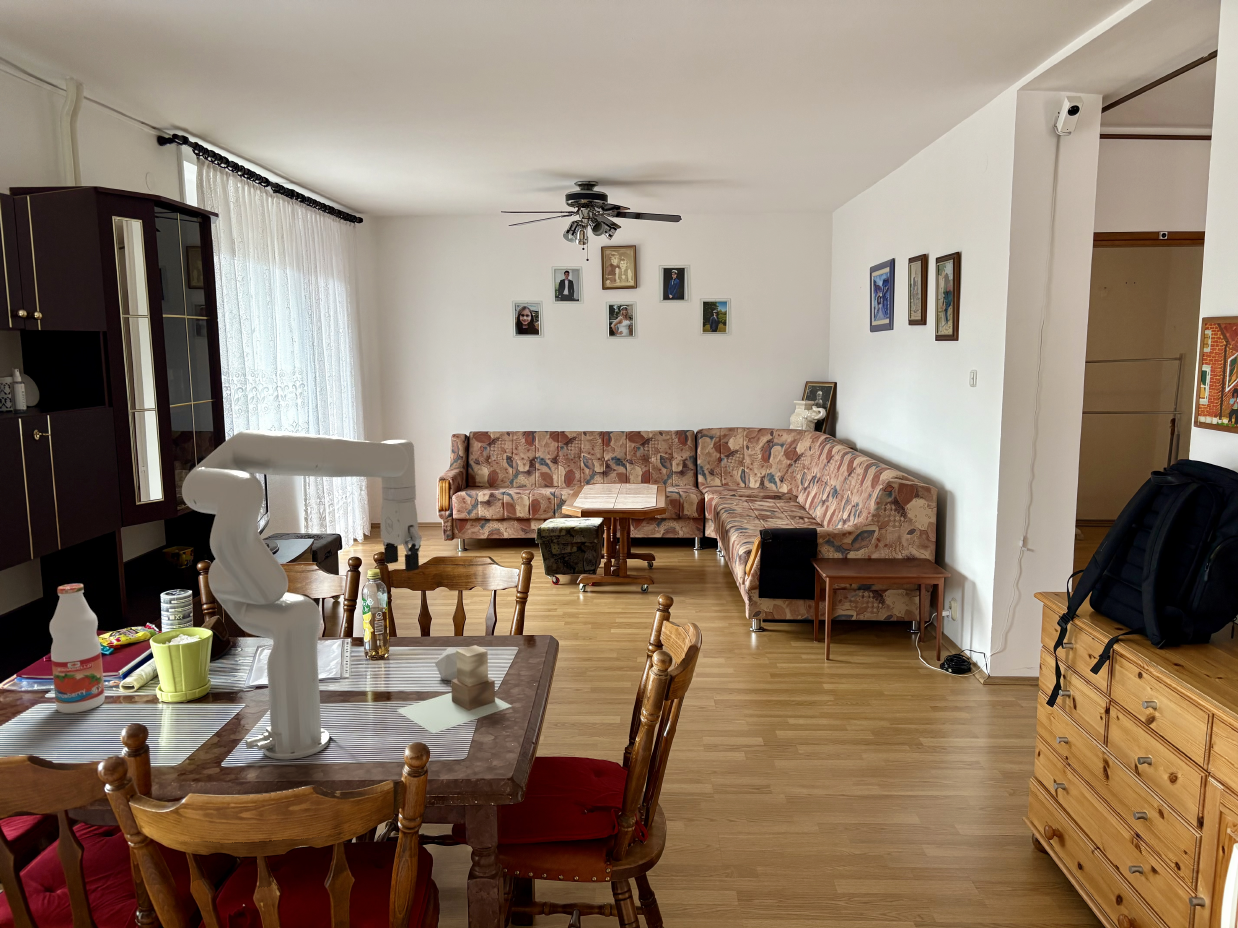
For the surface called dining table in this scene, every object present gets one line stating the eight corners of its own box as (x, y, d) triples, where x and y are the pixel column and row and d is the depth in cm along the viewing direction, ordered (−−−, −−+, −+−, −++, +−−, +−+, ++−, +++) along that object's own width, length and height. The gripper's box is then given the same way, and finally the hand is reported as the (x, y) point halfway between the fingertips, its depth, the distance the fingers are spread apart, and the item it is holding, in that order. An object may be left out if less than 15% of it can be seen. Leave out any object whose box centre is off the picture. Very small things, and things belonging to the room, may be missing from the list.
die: (480, 680, 205) (468, 643, 208) (471, 675, 197) (459, 637, 200) (449, 692, 204) (438, 656, 208) (439, 688, 196) (427, 650, 200)
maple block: (469, 686, 183) (468, 656, 183) (457, 680, 187) (456, 650, 186) (488, 680, 187) (487, 650, 186) (476, 674, 190) (475, 645, 190)
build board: (433, 737, 172) (433, 733, 172) (396, 714, 183) (395, 709, 183) (512, 710, 185) (512, 705, 185) (472, 689, 197) (472, 685, 197)
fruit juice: (109, 694, 195) (99, 578, 191) (99, 710, 186) (89, 589, 183) (62, 700, 192) (52, 582, 188) (50, 716, 183) (39, 593, 179)
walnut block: (468, 710, 183) (468, 688, 182) (451, 701, 188) (451, 680, 187) (495, 701, 187) (494, 680, 187) (478, 692, 192) (477, 672, 192)
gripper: (366, 491, 194) (369, 562, 196) (402, 500, 181) (405, 576, 183) (395, 487, 199) (398, 557, 201) (432, 496, 186) (435, 570, 189)
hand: (401, 566), depth 192 cm, fingers open, 9 cm apart
